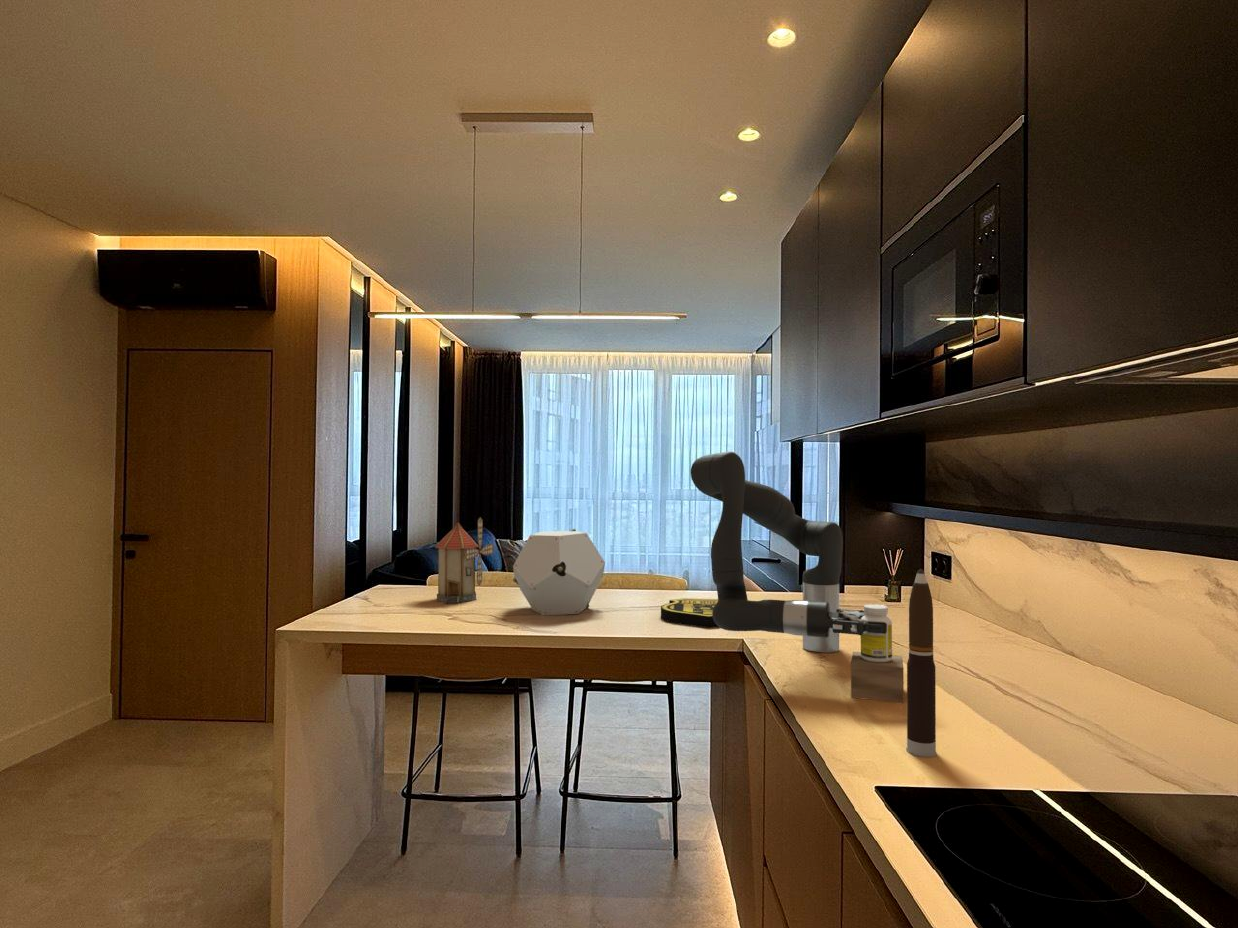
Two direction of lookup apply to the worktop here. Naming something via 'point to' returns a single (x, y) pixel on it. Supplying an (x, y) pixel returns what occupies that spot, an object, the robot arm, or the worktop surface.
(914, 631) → the ammunition
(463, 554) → the miniature windmill
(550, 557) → the geometric sculpture
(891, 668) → the walnut block
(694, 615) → the emblem
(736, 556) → the robot arm
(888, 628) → the pill bottle
